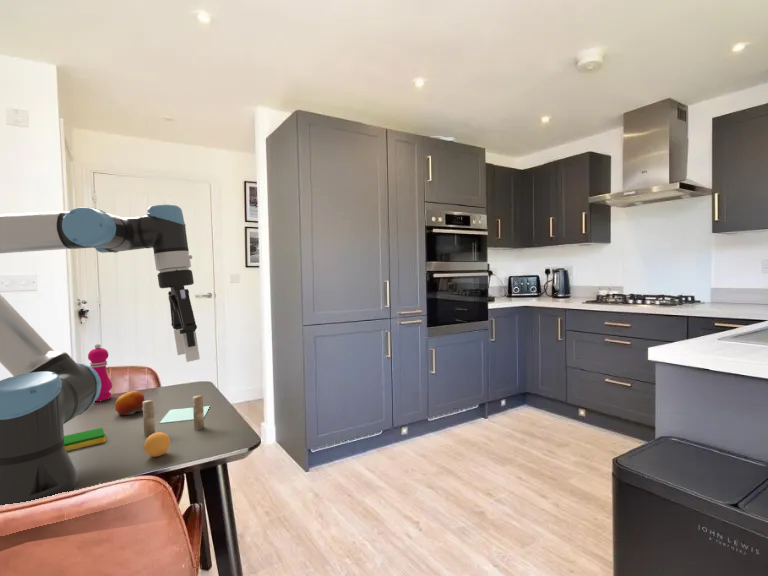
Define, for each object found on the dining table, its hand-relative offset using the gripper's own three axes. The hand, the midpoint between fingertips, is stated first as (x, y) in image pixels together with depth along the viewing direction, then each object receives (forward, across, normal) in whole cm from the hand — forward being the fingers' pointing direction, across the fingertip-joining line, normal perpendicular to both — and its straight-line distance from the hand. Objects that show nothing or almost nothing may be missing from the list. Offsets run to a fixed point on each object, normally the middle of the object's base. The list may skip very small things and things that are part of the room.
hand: (188, 357), depth 100 cm
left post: (+22, +20, +10) cm, 31 cm away
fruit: (+21, +45, +13) cm, 51 cm away
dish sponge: (+21, +25, +27) cm, 42 cm away
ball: (+20, +3, +9) cm, 22 cm away
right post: (+23, +16, -2) cm, 28 cm away
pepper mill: (+19, +69, +21) cm, 75 cm away
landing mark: (+22, +31, -1) cm, 38 cm away
